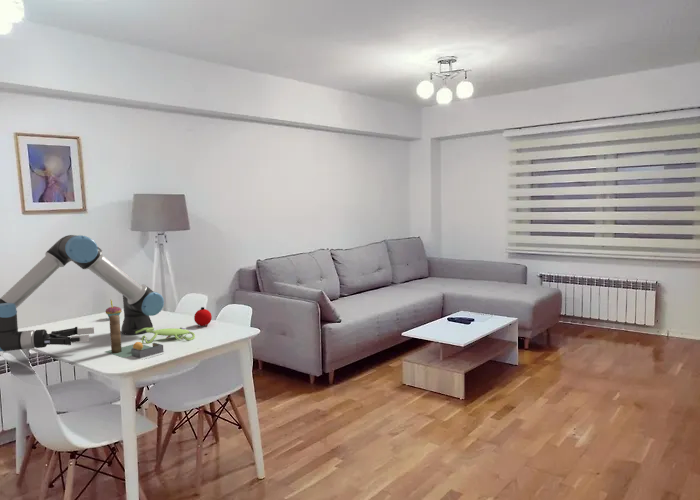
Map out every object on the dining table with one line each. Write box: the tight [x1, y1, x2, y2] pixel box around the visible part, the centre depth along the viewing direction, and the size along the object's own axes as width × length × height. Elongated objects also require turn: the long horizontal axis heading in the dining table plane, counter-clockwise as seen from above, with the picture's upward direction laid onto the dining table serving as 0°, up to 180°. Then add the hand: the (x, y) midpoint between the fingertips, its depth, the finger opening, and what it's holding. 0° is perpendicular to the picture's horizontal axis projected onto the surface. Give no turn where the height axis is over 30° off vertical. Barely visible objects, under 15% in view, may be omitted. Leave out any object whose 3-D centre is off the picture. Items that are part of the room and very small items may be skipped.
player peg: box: [108, 315, 122, 353], centre depth 221 cm, size 4×4×16 cm
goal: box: [131, 342, 164, 359], centre depth 218 cm, size 6×11×4 cm, turn 144°
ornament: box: [193, 306, 213, 327], centre depth 270 cm, size 9×9×10 cm
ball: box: [132, 341, 144, 350], centre depth 222 cm, size 4×4×4 cm
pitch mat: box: [104, 343, 152, 359], centre depth 224 cm, size 16×16×1 cm
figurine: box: [135, 326, 196, 345], centre depth 246 cm, size 18×27×6 cm
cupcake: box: [105, 299, 123, 318], centre depth 291 cm, size 9×8×12 cm
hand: (91, 334), depth 218 cm, fingers open, 13 cm apart
